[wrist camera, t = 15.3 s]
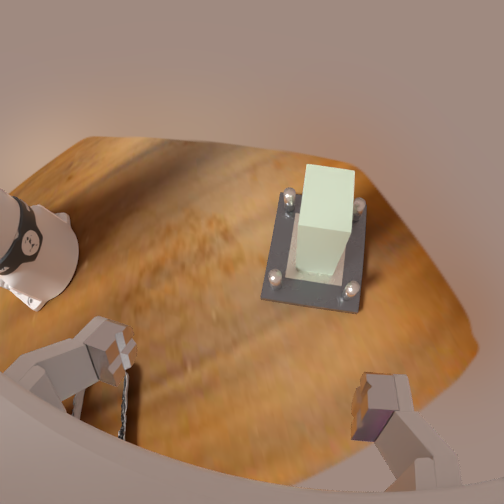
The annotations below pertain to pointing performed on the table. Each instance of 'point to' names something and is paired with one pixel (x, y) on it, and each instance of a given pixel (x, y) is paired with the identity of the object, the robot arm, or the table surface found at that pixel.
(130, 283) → the table surface
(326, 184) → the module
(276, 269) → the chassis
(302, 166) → the table surface
